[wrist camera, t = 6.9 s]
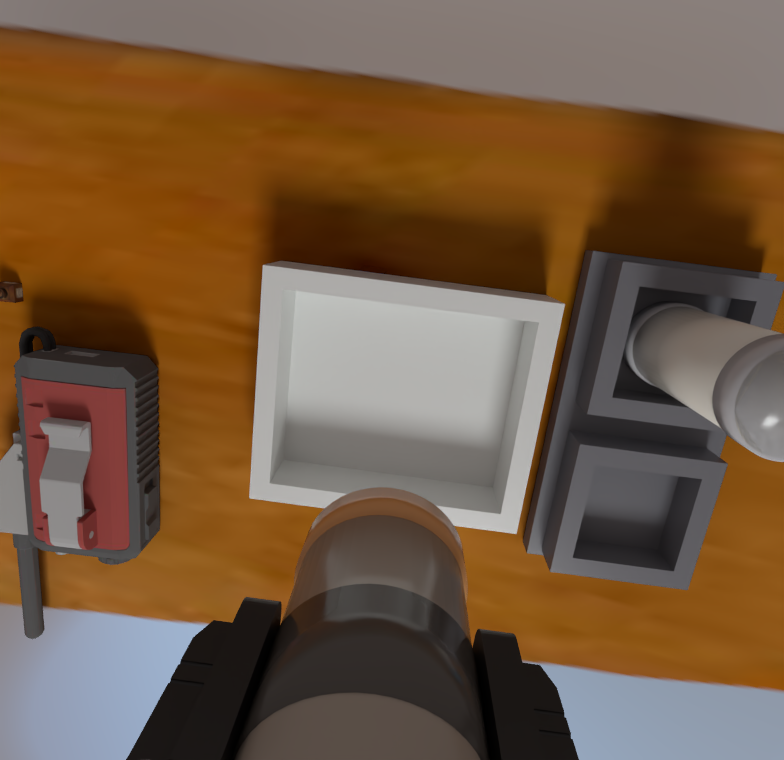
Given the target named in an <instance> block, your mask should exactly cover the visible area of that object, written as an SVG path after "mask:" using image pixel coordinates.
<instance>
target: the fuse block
mask: <svg viewBox="0 0 784 760" xmlns="http://www.w3.org/2000/svg"><path fill="white" fill-rule="evenodd" d="M776 276H777V275H776V274H769V273H761V272H753V271H745V270H738V269H730V268H722V267H714V266H707V265H699V264H691V263H683V262H676V261H668V260H660V259H652V258H645V257H637V256H629V255H621V254H614V253H606V252H598V251H590V250H586V251H585V256H584V261H583V265H582V270H581V274H580V279H579V284H578V288H577V293H576V298H575V302H574V307H573V312H572V316H571V321H570V325H569V330H568V335H567V339H566V344H565V349H564V353H563V358H562V363H561V367H560V372H559V376H558V381H557V386H556V390H555V395H554V400H553V404H552V409H551V413H550V418H549V423H548V427H547V432H546V437H545V441H544V446H543V451H542V455H541V460H540V464H539V469H538V474H537V478H536V483H535V488H534V492H533V497H532V502H531V506H530V511H529V515H528V520H527V525H526V529H525V534H524V539H523V543H524V546H525V549H526V552H527V553H530V554H538V555H544V557H545V560H546V562H547V565H548V568H549V570H550V572H557V573H564V574H572V575H579V576H586V577H594V578H601V579H609V580H616V581H624V582H631V583H639V584H646V585H654V586H661V587H668V588H676V589H683V590H688V587H689V584H690V581H691V578H692V574H693V571H694V568H695V565H696V562H697V559H698V556H699V553H700V549H701V546H702V543H703V540H704V537H705V534H706V531H707V527H708V524H709V521H710V518H711V515H712V512H713V509H714V505H715V502H716V499H717V496H718V493H719V490H720V487H721V484H722V480H723V477H724V474H725V471H726V468H727V465H728V464H727V463H726V462H725V461H723V460H722V459H721V458H720V455H721V452H722V448H723V445H724V442H725V439H726V436H727V434H726V433H725V432H724V431H723V430H722V429H721V428H720V427H718V426H717V425H715V424H714V423H712V422H711V421H709V420H708V419H706V418H705V417H703V416H701V415H700V414H698V413H697V412H695V411H694V410H692V409H691V408H689V407H688V406H686V405H685V404H683V403H681V402H680V401H678V400H677V399H675V398H674V397H672V396H671V395H669V394H668V393H666V392H665V391H663V390H661V389H660V388H658V387H655V386H652V385H650V384H648V383H647V382H645V381H644V380H642V379H641V378H639V377H638V376H636V375H635V374H634V373H633V372H632V371H631V370H630V369H629V368H628V367H627V365H626V363H625V361H624V359H623V352H624V348H625V343H626V339H627V335H628V331H629V327H630V323H631V320H632V318H633V317H634V316H635V315H636V314H637V313H638V312H640V311H641V310H642V309H644V308H646V307H647V306H650V305H652V304H655V303H658V302H663V301H675V302H680V303H684V304H687V305H691V306H694V307H697V308H699V309H701V310H703V311H704V312H708V313H711V314H715V315H718V316H722V317H726V318H729V319H733V320H736V321H740V322H743V323H747V324H750V325H754V326H757V327H761V328H765V329H768V330H771V327H772V324H773V320H774V317H775V314H776V311H777V308H778V305H779V302H780V298H781V295H782V292H783V289H784V282H779V281H775V279H776Z"/></svg>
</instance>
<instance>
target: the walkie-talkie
mask: <svg viewBox="0 0 784 760" xmlns="http://www.w3.org/2000/svg"><path fill="white" fill-rule="evenodd" d="M34 336H38V337H39V338H40V339H41V341H42V344H43V349H40V350H37V351H34V352H33V342H32V341H33V339H34ZM19 349H20V359H19V360H18V361H17V362H16V364H15V365H14V367H15V373H16V374H15V378H16V384H15V386H16V388H17V394H16V397H17V398H18V404H17V407H18V408H19V413H18V416H19V420H20V423H19V426H20V430H18V431H17V432H15V433H13V439H14V444H13V445H12V447H11V448H10V449H9V450H8V452H7V453H6V454H5V456H4V457H3V458H2V459H1V461H0V532H6V533H13V543H14V547H15V548H17V555H18V565H19V576H20V587H21V598H22V608H23V619H24V630H25V635H26V636H27V637H28V638H31V639H34V638H37V637H39V636H40V635H41V634H42V633H43V631H44V620H43V607H42V595H41V583H40V571H39V559H38V548H39V549H41V550H44V551H52V552H56V554H58V555H64V554H67V553H69V554H77V555H85V556H93V557H98V558H99V561H101V562H102V563H105V564H110V565H114V564H120V563H124V562H127V561H129V560H130V559H132V558H136V557H137V556H138V555H139V553H140V552H141V551H142V550H143V549H144V548H145V546H146V545H147V544H148V543H149V542H150V541H151V539H152V538H153V537H154V536H155V535H156V533H157V532H158V531H159V530H160V508H159V464H158V459H159V456H158V451H159V447H158V442H159V439H158V433H159V430H158V424H159V421H158V415H159V413H158V412H157V407H158V406H159V404H158V403H157V398H158V394H157V389H158V385H157V379H158V376H157V370H158V368H157V367H156V365H155V364H154V363H153V362H152V361H151V360H150V359H149V357H148V356H145V355H137V354H128V353H120V352H111V351H103V350H94V349H86V348H77V347H69V346H60V345H56V342H55V339H54V337H53V334H52V333H51V332H50V331H49V330H47V329H44V328H42V327H38V326H37V327H32V328H28V329H26V330H25V331H24V332H23V333H22V334H21V338H20V342H19Z"/></svg>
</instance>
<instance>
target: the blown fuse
mask: <svg viewBox="0 0 784 760" xmlns="http://www.w3.org/2000/svg"><path fill="white" fill-rule="evenodd" d="M467 593H468V585H467V575H466V568H465V562H464V555H463V549H462V544H461V541H460V538H459V535H458V533H457V531H456V529H455V527H454V525H453V524H452V522H451V521H450V520H449V518H448V517H447V516H446V515H445V514H444V513H443V512H442V511H441V510H440V509H439V508H438V507H437V506H435V505H434V504H433V503H431V502H430V501H428V500H426V499H425V498H423V497H421V496H419V495H417V494H414V493H411V492H408V491H405V490H401V489H396V488H386V487H377V488H367V489H361V490H358V491H354V492H351V493H349V494H346V495H344V496H342V497H340V498H338V499H337V500H335V501H334V502H332V503H331V504H330V505H328V506H327V507H326V508H325V509H324V510H323V511H322V512H321V513H320V514H319V515H318V517H317V518H316V519H315V521H314V522H313V524H312V526H311V528H310V530H309V532H308V535H307V538H306V540H305V543H304V546H303V549H302V552H301V554H300V557H299V560H298V563H297V566H296V571H295V577H294V588H293V590H292V593H291V596H290V599H289V602H288V605H287V608H286V611H285V614H284V617H283V620H282V623H281V625H280V627H279V628H278V630H277V632H276V634H275V636H274V638H273V641H272V644H271V646H270V649H269V652H268V655H267V658H266V661H265V664H264V666H263V669H262V672H261V675H260V678H259V681H258V684H257V686H256V689H255V692H254V695H253V698H252V701H251V704H250V706H249V709H248V712H247V715H246V718H245V721H244V724H243V726H242V729H241V732H240V735H239V738H238V741H237V744H236V746H235V749H234V752H233V755H232V760H490V755H489V748H488V741H487V734H486V727H485V719H484V712H483V705H482V698H481V691H480V684H479V676H478V669H477V663H476V658H475V654H474V651H473V648H472V644H471V637H470V629H469V622H468V614H467V607H466V601H467Z"/></svg>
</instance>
